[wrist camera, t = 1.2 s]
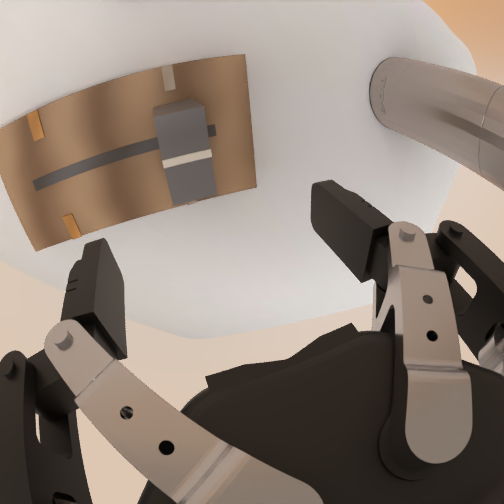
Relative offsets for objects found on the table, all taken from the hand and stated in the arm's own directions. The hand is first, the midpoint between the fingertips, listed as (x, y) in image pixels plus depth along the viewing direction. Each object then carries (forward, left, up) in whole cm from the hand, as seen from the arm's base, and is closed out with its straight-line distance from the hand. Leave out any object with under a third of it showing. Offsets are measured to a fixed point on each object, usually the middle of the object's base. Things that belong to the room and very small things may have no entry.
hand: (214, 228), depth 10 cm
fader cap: (0, 0, -13) cm, 13 cm away
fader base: (+5, 0, -16) cm, 17 cm away
